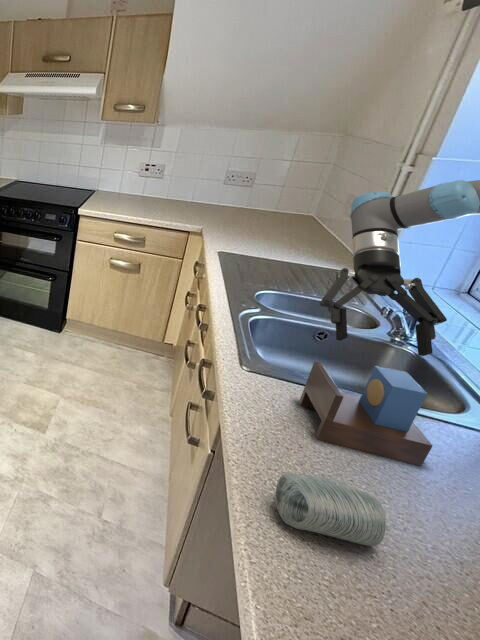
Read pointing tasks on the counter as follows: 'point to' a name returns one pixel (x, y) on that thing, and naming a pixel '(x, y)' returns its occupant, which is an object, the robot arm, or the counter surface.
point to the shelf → (358, 422)
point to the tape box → (392, 398)
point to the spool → (330, 508)
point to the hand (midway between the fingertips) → (382, 346)
